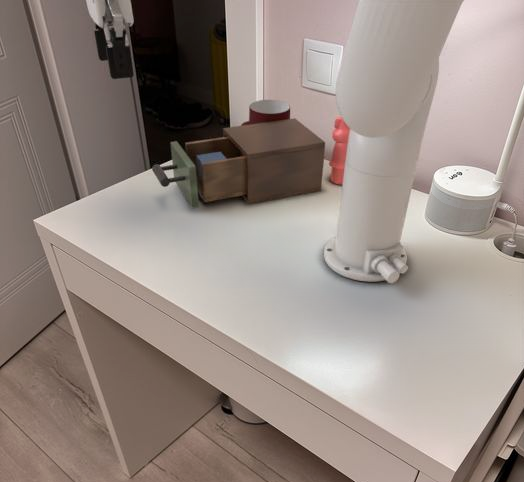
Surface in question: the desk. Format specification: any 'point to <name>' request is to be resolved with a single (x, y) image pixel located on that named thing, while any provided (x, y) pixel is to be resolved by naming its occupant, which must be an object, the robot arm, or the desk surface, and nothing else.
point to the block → (207, 158)
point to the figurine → (339, 150)
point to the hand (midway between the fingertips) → (115, 68)
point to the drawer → (206, 171)
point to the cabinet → (279, 159)
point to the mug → (267, 111)
